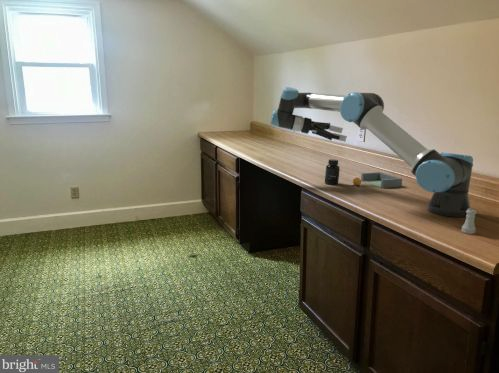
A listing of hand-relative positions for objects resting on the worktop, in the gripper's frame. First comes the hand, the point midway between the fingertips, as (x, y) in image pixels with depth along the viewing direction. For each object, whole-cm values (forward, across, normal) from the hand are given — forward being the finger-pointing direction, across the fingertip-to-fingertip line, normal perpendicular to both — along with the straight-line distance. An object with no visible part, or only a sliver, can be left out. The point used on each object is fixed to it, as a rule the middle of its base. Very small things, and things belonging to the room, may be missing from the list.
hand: (344, 134), depth 202 cm
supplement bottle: (0, +7, -24) cm, 25 cm away
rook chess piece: (+34, +73, -4) cm, 80 cm away
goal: (+24, +3, -20) cm, 32 cm away
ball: (+12, +9, -21) cm, 26 cm away
